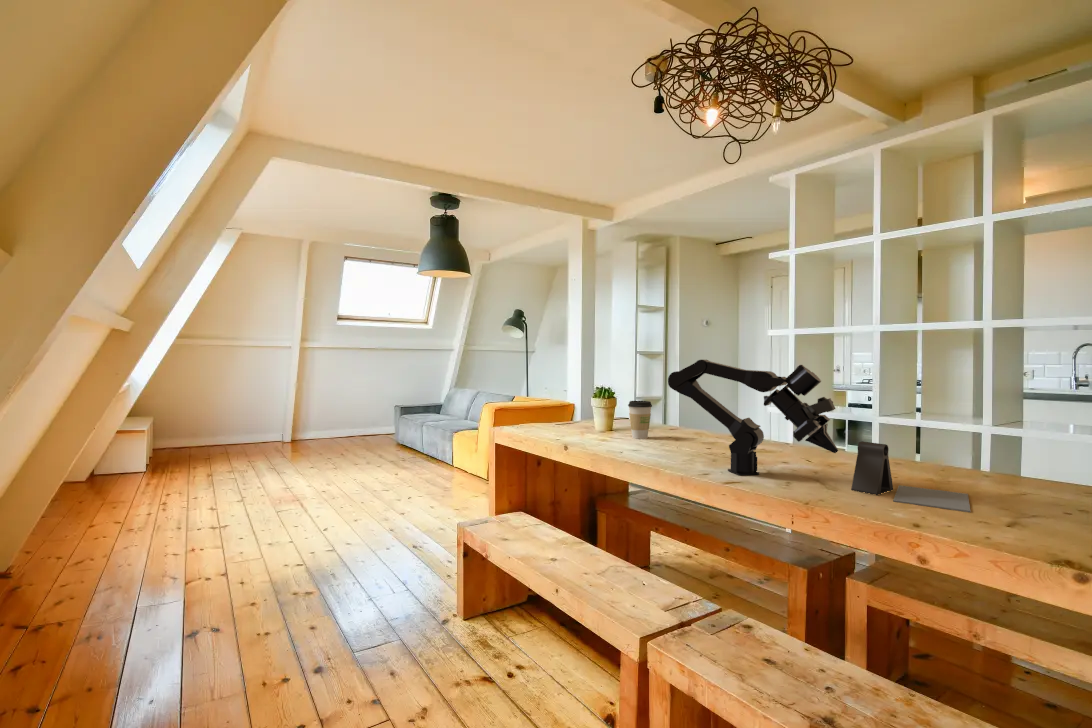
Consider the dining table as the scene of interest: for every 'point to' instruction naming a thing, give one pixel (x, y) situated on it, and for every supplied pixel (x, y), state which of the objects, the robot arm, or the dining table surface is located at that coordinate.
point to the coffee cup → (640, 418)
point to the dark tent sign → (872, 469)
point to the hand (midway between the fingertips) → (836, 452)
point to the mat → (932, 498)
